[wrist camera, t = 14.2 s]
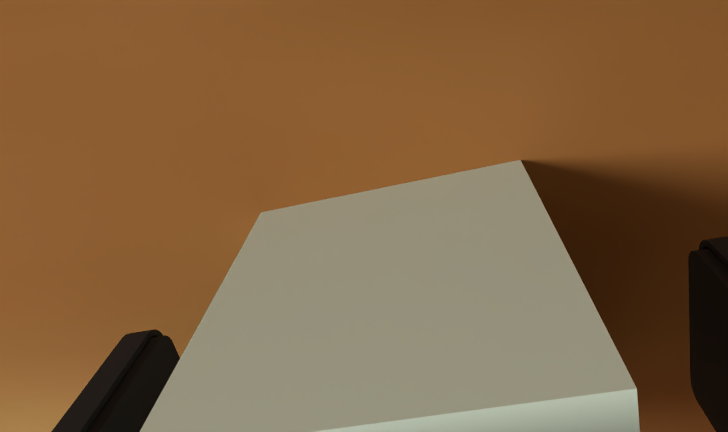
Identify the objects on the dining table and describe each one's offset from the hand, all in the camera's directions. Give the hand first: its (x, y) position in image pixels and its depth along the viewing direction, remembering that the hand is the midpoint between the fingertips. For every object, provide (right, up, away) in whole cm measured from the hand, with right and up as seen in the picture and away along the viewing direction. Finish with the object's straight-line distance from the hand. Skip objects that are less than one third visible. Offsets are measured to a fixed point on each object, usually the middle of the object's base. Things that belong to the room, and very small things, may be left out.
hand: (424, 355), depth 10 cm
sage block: (0, +1, +1) cm, 2 cm away
